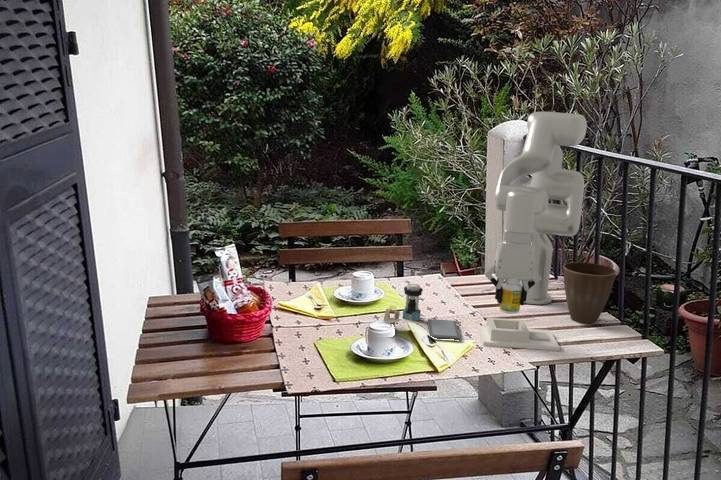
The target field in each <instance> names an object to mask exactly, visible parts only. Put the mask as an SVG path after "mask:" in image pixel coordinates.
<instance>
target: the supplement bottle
mask: <svg viewBox="0 0 721 480" xmlns="http://www.w3.org/2000/svg"><path fill="white" fill-rule="evenodd" d="M519 283H520V280H517V279H505V280H504V282H503V284H502V286H501V287H502V299H501V303H500V304H499V311H500V312H502V313H505V314H509V315H514V314H519V312H520V310H521V304H520V300H521V292H522V287H521V285H520V284H519Z"/></svg>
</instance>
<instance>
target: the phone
mask: <svg viewBox="0 0 721 480" xmlns="http://www.w3.org/2000/svg"><path fill="white" fill-rule="evenodd" d="M427 327H428V328H427V329H428V334H430V336H432V337H434V338H437V339H454V340H459V341H460V342H461V335H460V332H459V327H458V324H457V321H456V320H447V319H437V318H436V319H435V318H434V319H433V318H428V319H427ZM430 336H429V337H430Z"/></svg>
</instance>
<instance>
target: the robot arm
mask: <svg viewBox="0 0 721 480" xmlns="http://www.w3.org/2000/svg"><path fill="white" fill-rule="evenodd" d="M526 122H527V123H526V125H527V126H526V127H527V133H526V138H525V141H524V145H523V147H522V153H521V155H519V156H518V157H517V156H516V158H514V159H513V160H511V161H510V162H509V163H507V165H506V166H505V167H504V168H503V169H502V170H501V172H500V174H499V177H498V179H497V183H496V187H495V190H494V195H493V204H494V207H495V208H496V209H497V210H498V211H500V212H504V222H503V231H502V239H499V240H498V243H497V247H496V250H495V251H496V252H495V257H494V262H493V264H492V265H491V266H490V268H488V269H487V270H486V272H484V276H485V277H486V278H487V280H489V281H490V282H491V283H492V284H493V286H494V287H495V293H494V300H496V302H497V304H499V305H500V303H501V299H502V284H503V283H505V279H517V280H520V283H519V284H520V285H521V287H522V292H521V300H520V306H524V305H525V304H527V305H528V304H529V305H548V304H550V303H552V301H553V297H552V296H551V295H550V294H549V293H548V292H549V285H550V275H551V268H552V259H553V251H554V250H553V249H554V247H553V244H552V241H551V240H550V238H549V237H548V235H556V236H564V237H574V236H576V235H577V234H578V232H579V229H580V224H581V217H582V210H583V200H584V193H585V179H584V176H583V174H582V173H581V172H580V171H577V170H571V169H563V168H562V163H563V157H564V155H563V154H564V153H563V150H562V148H561V147H562V146H564V147H577V146H579V144H581V143H582V142H583V140H584V138H585V137H586V133H587V129H588V127H587V126H588V125H587V124H588V123H587V119H586V117H585V116H584V115H582V114H577V113H567V112H555V111H535V112H531V113H530V114H529V115H528V117H527V121H526ZM529 175H531V184H530V186H524V185H518V184H512V183H513V182H514V181H515V180H517V179H519V178H523V177H525V176H529ZM549 200H554V201H555V200H556V201H563V202H565V203H566V205H565V204H557V203H552V202H551V203H549ZM492 274H494V275H495V277H494V276H493V275H492ZM496 278H497V279H496Z"/></svg>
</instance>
